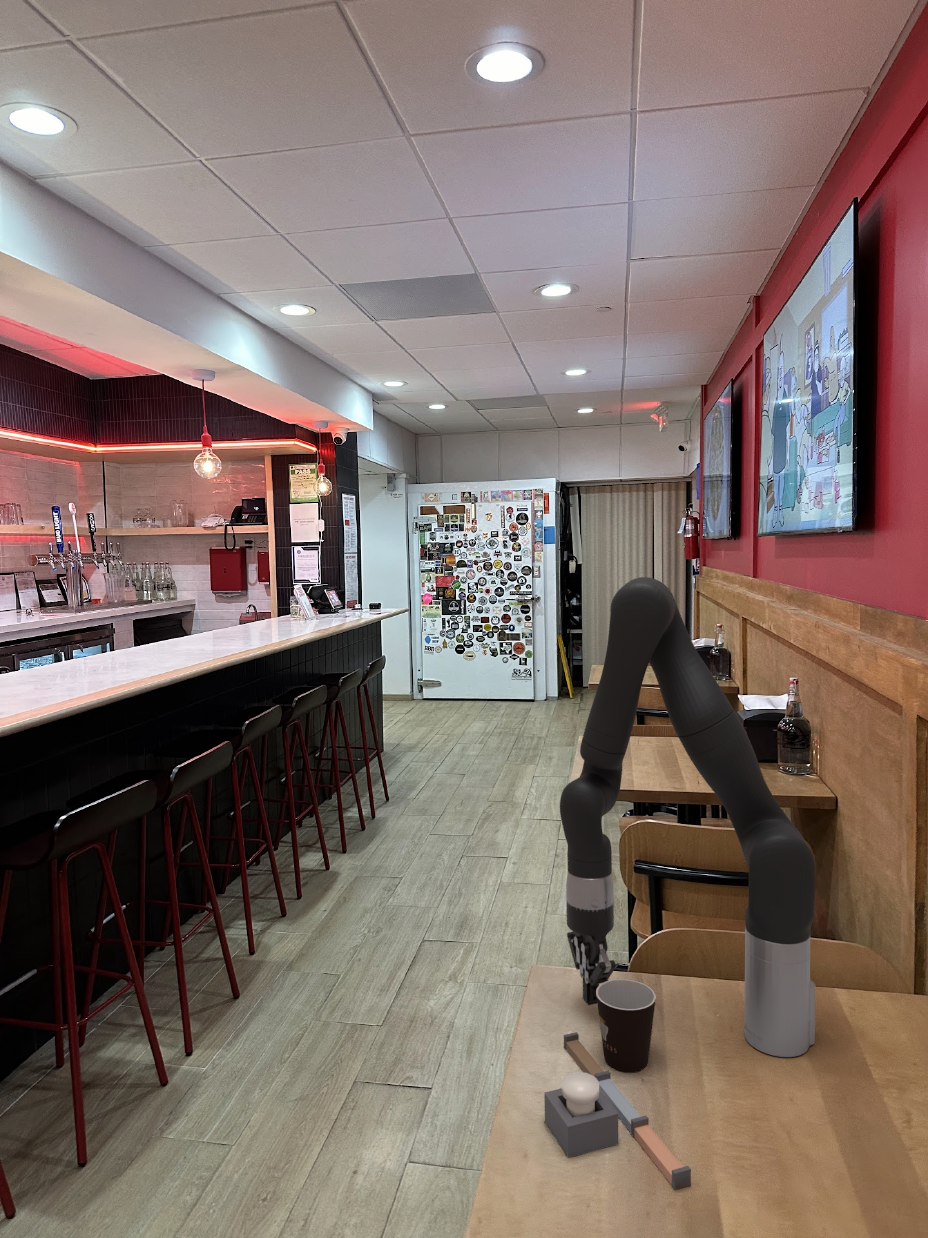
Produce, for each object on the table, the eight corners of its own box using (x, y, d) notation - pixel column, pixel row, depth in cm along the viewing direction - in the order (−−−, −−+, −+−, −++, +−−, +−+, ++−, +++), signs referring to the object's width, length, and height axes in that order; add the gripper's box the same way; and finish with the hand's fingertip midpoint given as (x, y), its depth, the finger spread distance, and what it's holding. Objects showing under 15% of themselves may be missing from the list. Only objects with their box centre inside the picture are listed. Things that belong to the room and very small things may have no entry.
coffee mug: (656, 1081, 117) (656, 1013, 116) (595, 1074, 119) (594, 1007, 118) (654, 1034, 128) (654, 972, 127) (598, 1029, 130) (598, 967, 129)
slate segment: (608, 1084, 116) (608, 1070, 116) (646, 1130, 107) (646, 1115, 107) (594, 1087, 116) (594, 1074, 115) (631, 1134, 106) (631, 1119, 106)
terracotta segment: (646, 1130, 107) (646, 1115, 107) (690, 1185, 97) (690, 1169, 97) (631, 1134, 106) (631, 1119, 106) (674, 1190, 97) (674, 1174, 97)
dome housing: (592, 1109, 111) (592, 1081, 111) (618, 1144, 104) (618, 1114, 104) (544, 1121, 109) (544, 1092, 109) (568, 1158, 102) (567, 1127, 102)
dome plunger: (588, 1112, 110) (588, 1068, 109) (606, 1135, 105) (606, 1090, 105) (555, 1120, 108) (555, 1076, 108) (572, 1145, 104) (571, 1099, 103)
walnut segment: (576, 1045, 126) (576, 1032, 126) (608, 1084, 116) (608, 1070, 116) (563, 1048, 125) (563, 1035, 125) (594, 1087, 116) (594, 1074, 115)
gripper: (631, 911, 128) (632, 1019, 129) (591, 880, 140) (592, 978, 141) (587, 918, 125) (588, 1028, 127) (551, 886, 138) (552, 986, 139)
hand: (590, 1002), depth 134 cm, fingers closed
